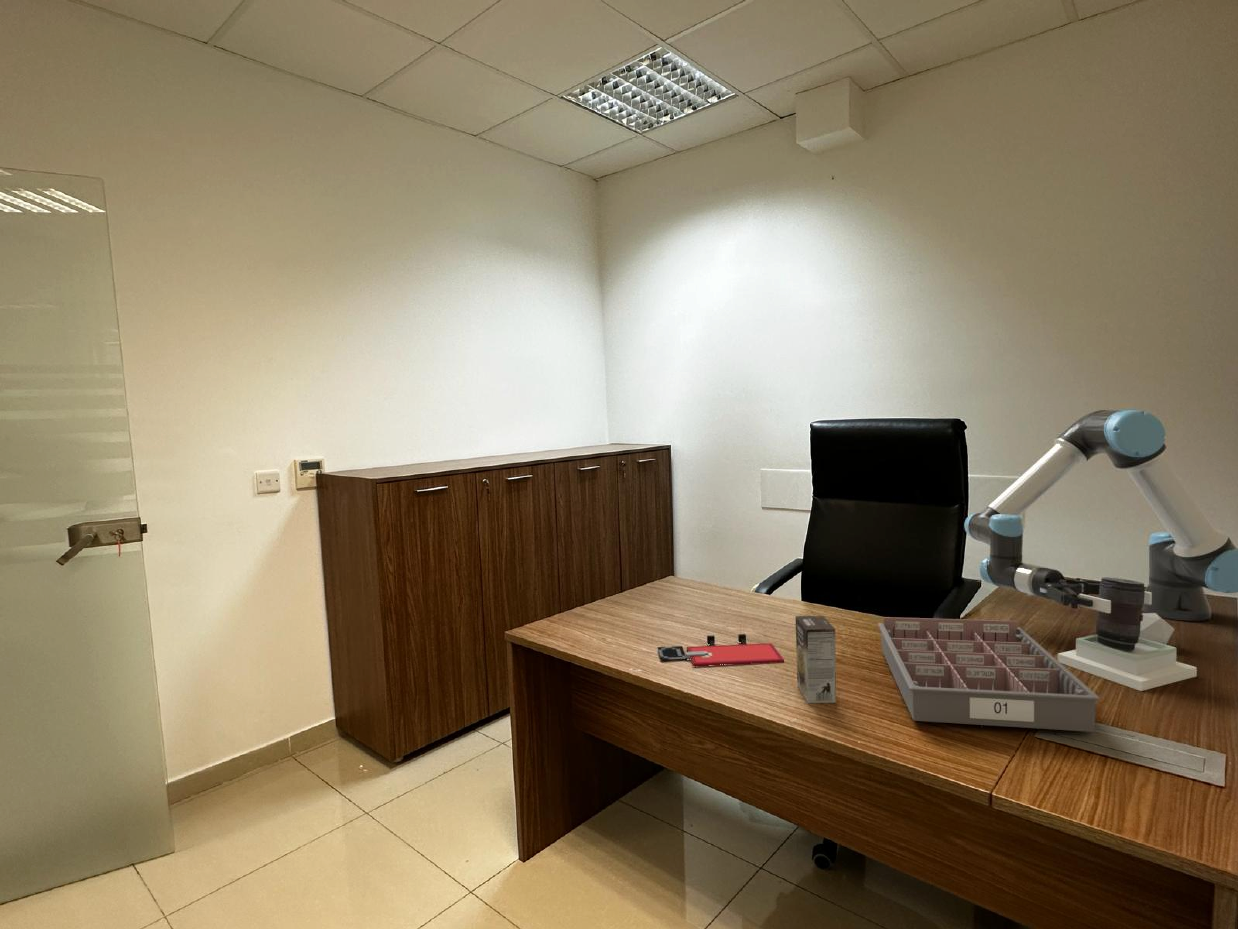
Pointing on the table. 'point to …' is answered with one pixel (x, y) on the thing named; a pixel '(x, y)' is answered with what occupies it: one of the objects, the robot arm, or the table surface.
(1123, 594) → the camera lens
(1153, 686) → the plinth
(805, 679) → the coffee box
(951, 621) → the organizer tray
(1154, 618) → the white polyhedron
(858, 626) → the table surface
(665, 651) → the red board with handle
